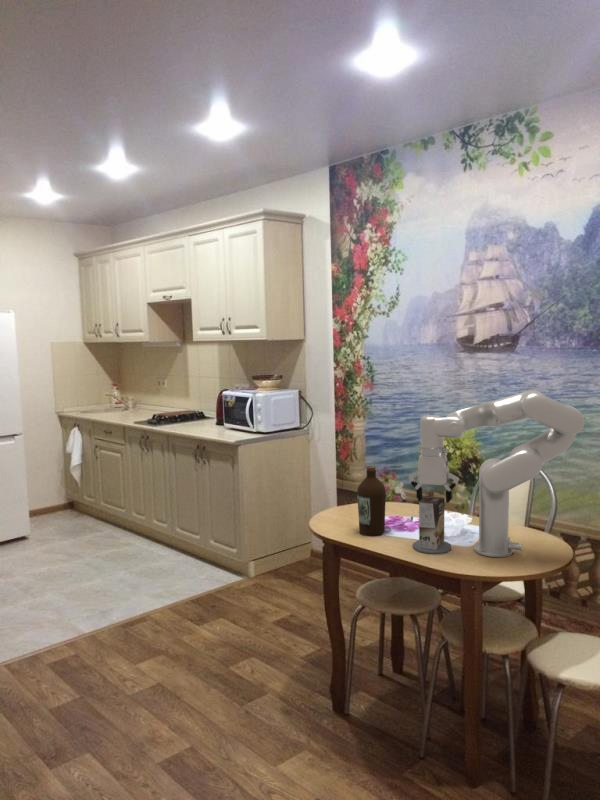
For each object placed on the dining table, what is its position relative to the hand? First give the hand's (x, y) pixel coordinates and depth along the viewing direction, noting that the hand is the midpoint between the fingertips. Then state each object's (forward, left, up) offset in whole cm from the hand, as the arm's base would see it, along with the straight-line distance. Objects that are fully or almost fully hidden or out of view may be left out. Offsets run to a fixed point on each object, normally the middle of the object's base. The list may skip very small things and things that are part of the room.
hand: (434, 501), depth 224 cm
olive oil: (+26, -9, -17) cm, 32 cm away
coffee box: (+1, 0, -16) cm, 16 cm away
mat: (+1, 0, -17) cm, 17 cm away
